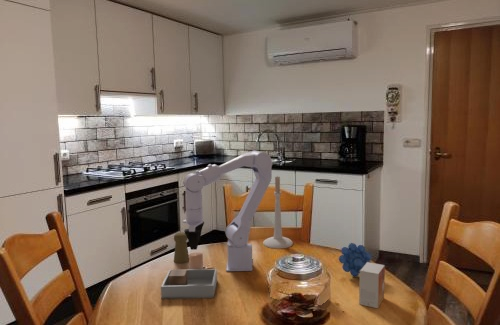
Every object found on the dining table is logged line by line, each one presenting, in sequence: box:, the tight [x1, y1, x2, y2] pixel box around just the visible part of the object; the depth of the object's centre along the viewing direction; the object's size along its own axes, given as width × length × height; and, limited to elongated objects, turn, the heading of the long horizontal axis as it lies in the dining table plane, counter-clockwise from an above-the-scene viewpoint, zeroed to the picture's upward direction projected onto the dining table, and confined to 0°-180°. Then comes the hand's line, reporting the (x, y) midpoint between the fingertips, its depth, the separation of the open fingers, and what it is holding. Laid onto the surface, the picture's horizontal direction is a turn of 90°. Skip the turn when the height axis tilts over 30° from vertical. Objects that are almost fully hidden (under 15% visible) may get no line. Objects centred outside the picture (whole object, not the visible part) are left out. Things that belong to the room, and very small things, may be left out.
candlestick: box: [262, 175, 294, 250], centre depth 169 cm, size 13×13×30 cm
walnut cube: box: [169, 269, 188, 286], centre depth 127 cm, size 5×5×5 cm
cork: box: [173, 231, 189, 264], centre depth 152 cm, size 6×6×11 cm
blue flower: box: [338, 242, 373, 278], centre depth 134 cm, size 12×7×12 cm, turn 92°
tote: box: [160, 268, 218, 300], centre depth 127 cm, size 16×13×4 cm
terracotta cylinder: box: [188, 251, 204, 269], centre depth 140 cm, size 5×5×7 cm
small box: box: [358, 261, 386, 309], centre depth 117 cm, size 8×6×10 cm
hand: (195, 245), depth 139 cm, fingers open, 7 cm apart
